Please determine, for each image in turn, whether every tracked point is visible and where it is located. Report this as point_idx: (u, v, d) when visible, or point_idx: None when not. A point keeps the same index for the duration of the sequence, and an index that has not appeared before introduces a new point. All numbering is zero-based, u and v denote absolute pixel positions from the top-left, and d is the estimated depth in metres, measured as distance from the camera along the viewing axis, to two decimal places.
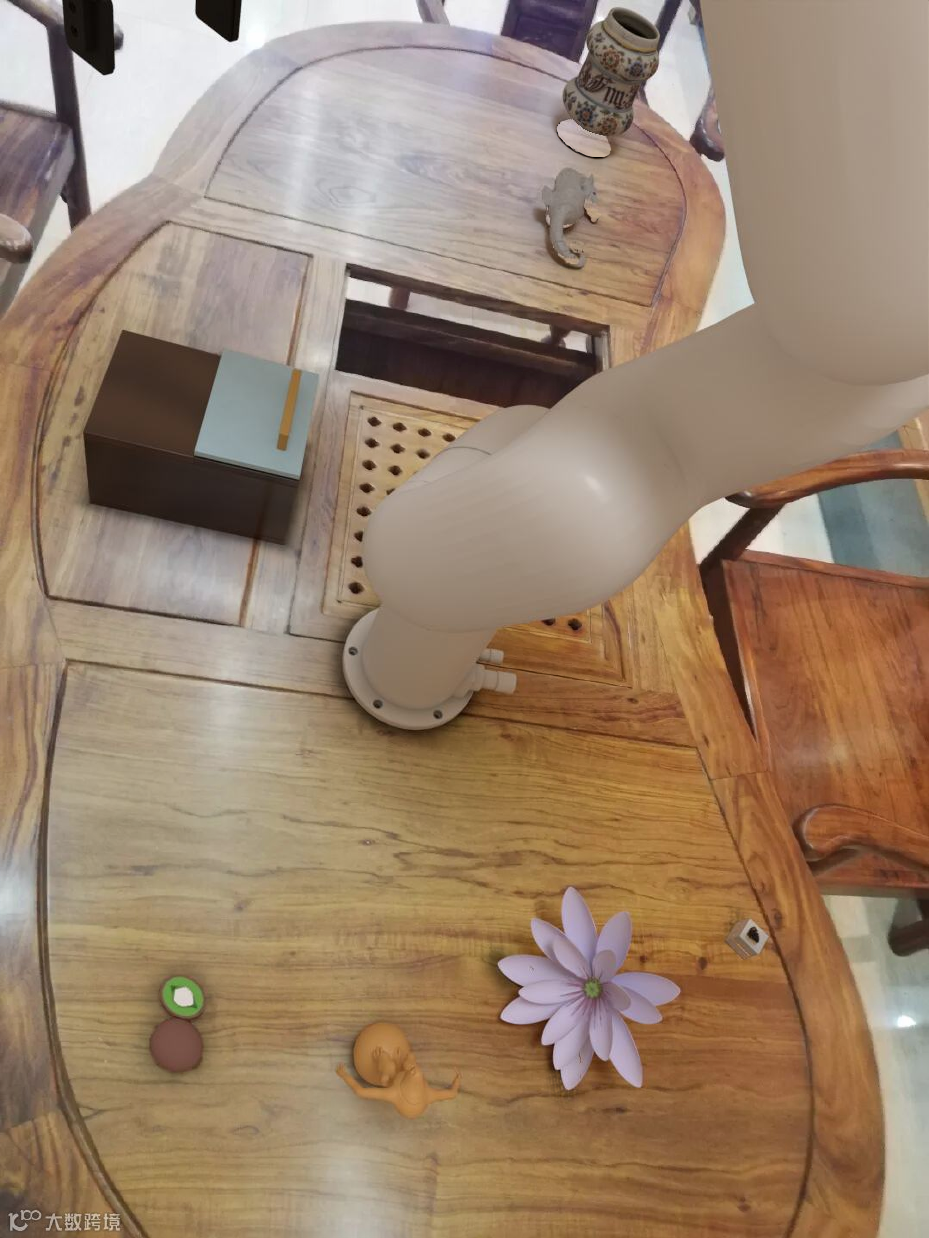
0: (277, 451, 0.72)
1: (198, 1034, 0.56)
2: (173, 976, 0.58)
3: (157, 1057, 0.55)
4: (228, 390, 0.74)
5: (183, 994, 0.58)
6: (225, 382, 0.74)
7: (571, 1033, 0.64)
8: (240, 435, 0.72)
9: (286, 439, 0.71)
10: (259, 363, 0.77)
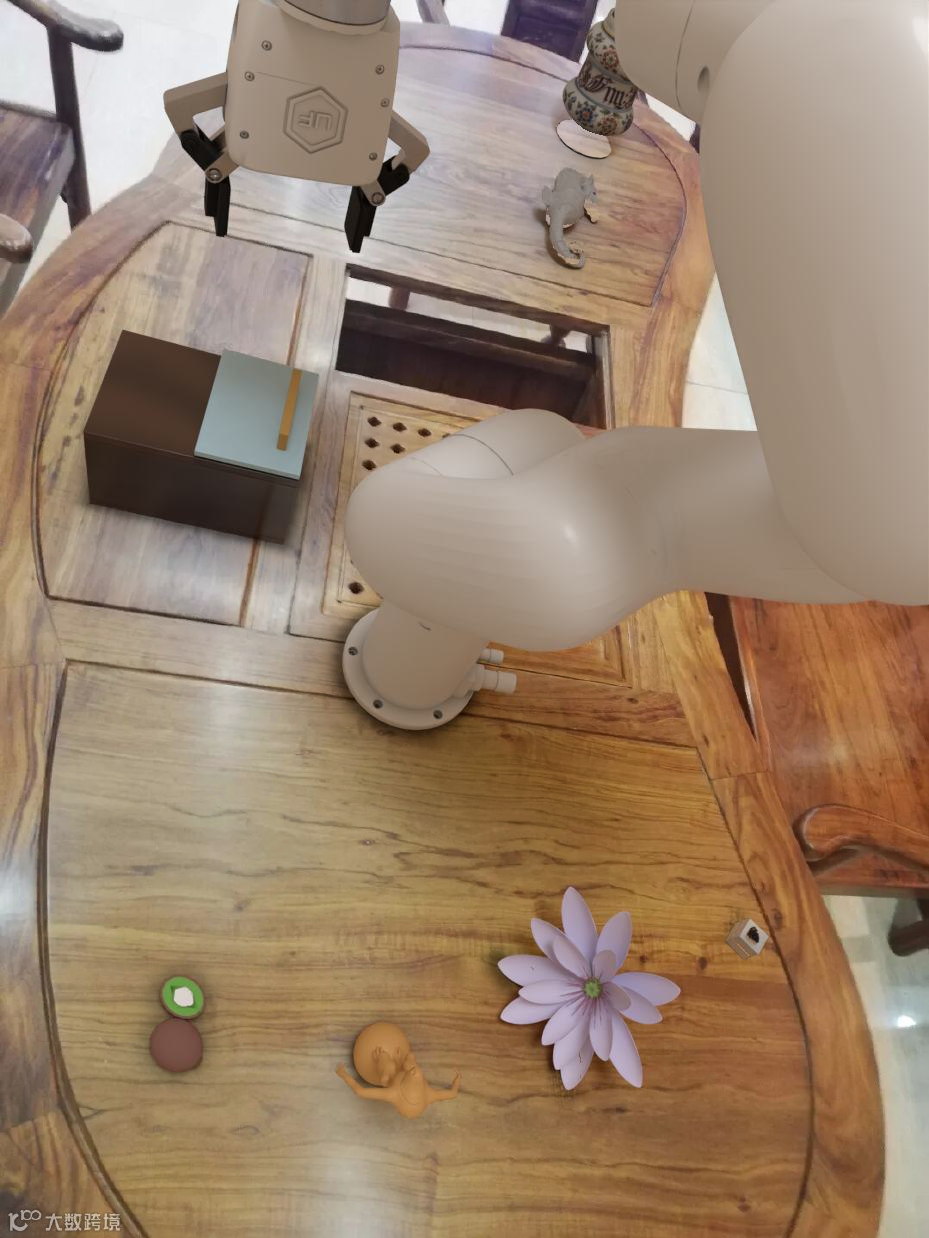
0: (277, 451, 0.72)
1: (198, 1034, 0.56)
2: (173, 976, 0.58)
3: (157, 1057, 0.55)
4: (228, 390, 0.74)
5: (183, 994, 0.58)
6: (225, 382, 0.74)
7: (571, 1033, 0.64)
8: (240, 435, 0.72)
9: (286, 439, 0.71)
10: (259, 363, 0.77)
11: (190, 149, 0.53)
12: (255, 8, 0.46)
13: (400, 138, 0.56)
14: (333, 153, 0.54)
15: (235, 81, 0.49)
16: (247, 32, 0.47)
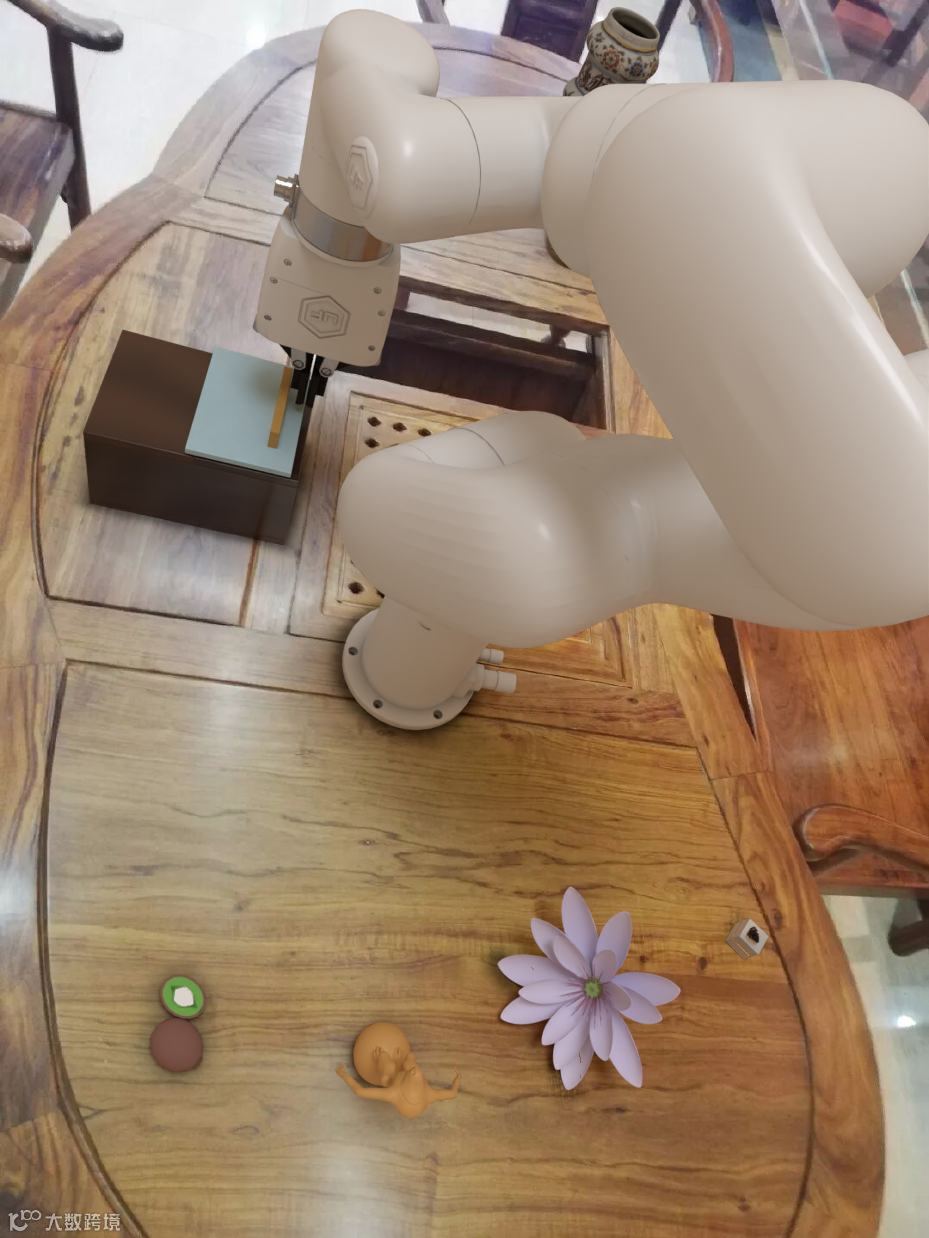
0: (268, 449, 0.72)
1: (198, 1034, 0.56)
2: (173, 976, 0.58)
3: (157, 1057, 0.55)
4: (220, 388, 0.74)
5: (183, 994, 0.58)
6: (216, 380, 0.74)
7: (571, 1033, 0.64)
8: (231, 433, 0.71)
9: (277, 437, 0.71)
10: (251, 361, 0.76)
11: (283, 345, 0.69)
12: (281, 236, 0.60)
13: None
14: (338, 341, 0.66)
15: (264, 280, 0.63)
16: (274, 251, 0.60)
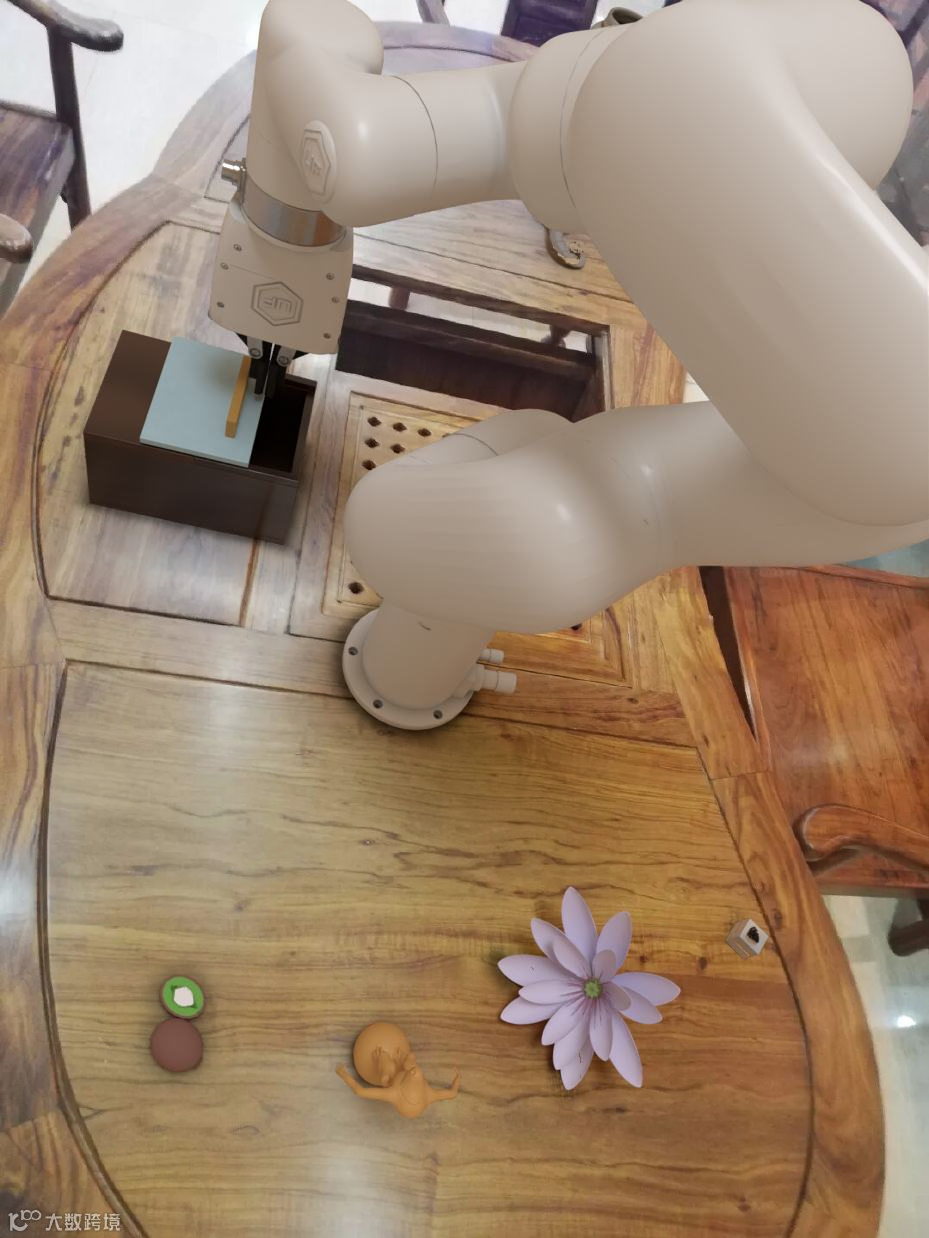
0: (225, 438, 0.71)
1: (198, 1034, 0.56)
2: (173, 976, 0.58)
3: (157, 1057, 0.55)
4: (177, 377, 0.73)
5: (183, 994, 0.58)
6: (174, 369, 0.73)
7: (571, 1033, 0.64)
8: (188, 422, 0.71)
9: (234, 426, 0.70)
10: (210, 350, 0.75)
11: (239, 333, 0.68)
12: (230, 221, 0.59)
13: None
14: (293, 328, 0.65)
15: (215, 267, 0.62)
16: (224, 236, 0.60)
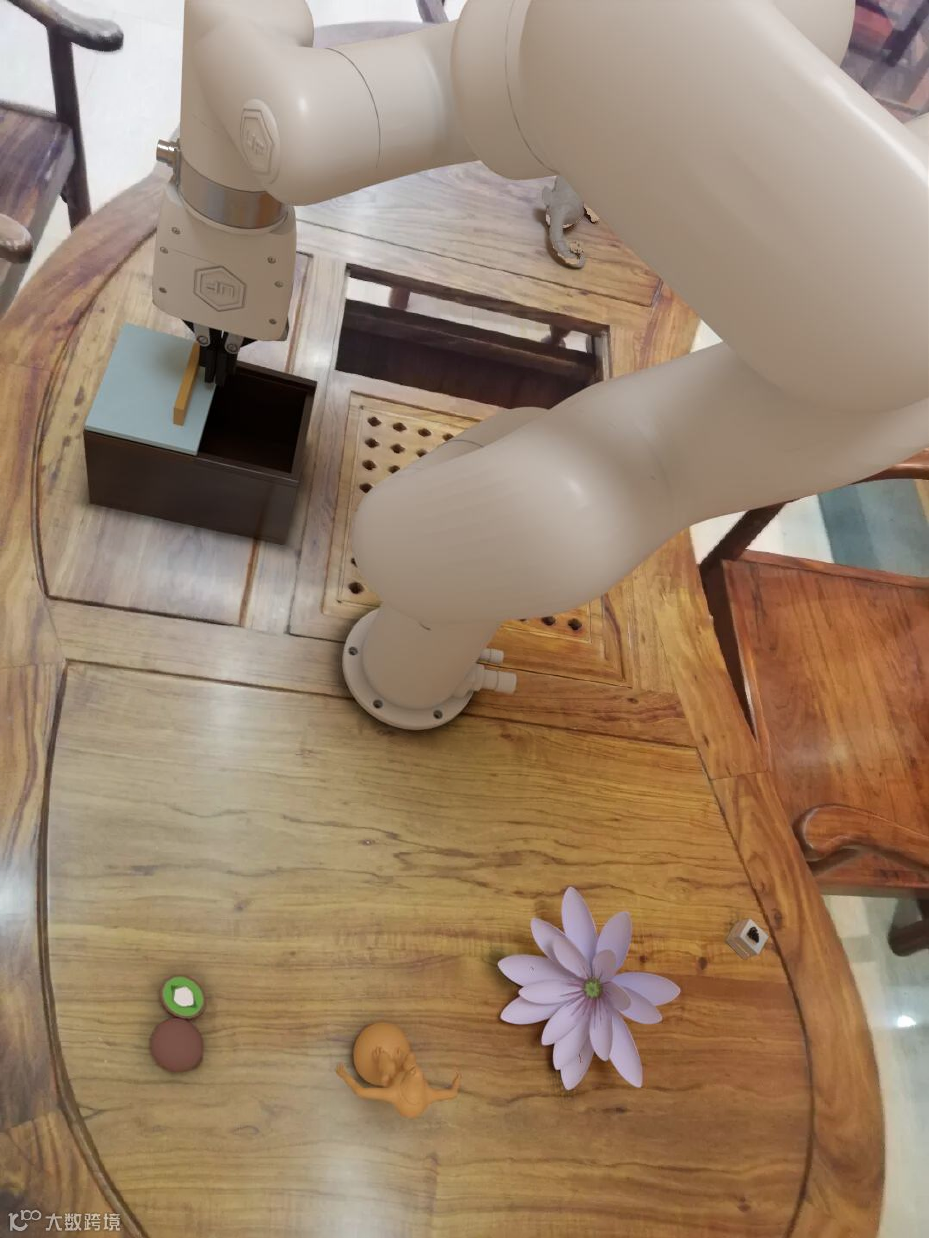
0: (174, 426, 0.70)
1: (198, 1034, 0.56)
2: (173, 976, 0.58)
3: (157, 1057, 0.55)
4: (126, 364, 0.72)
5: (183, 994, 0.58)
6: (123, 356, 0.72)
7: (571, 1033, 0.64)
8: (135, 409, 0.70)
9: (181, 413, 0.69)
10: (161, 337, 0.74)
11: (185, 320, 0.67)
12: (167, 203, 0.58)
13: None
14: (237, 314, 0.64)
15: (155, 251, 0.61)
16: (162, 219, 0.59)
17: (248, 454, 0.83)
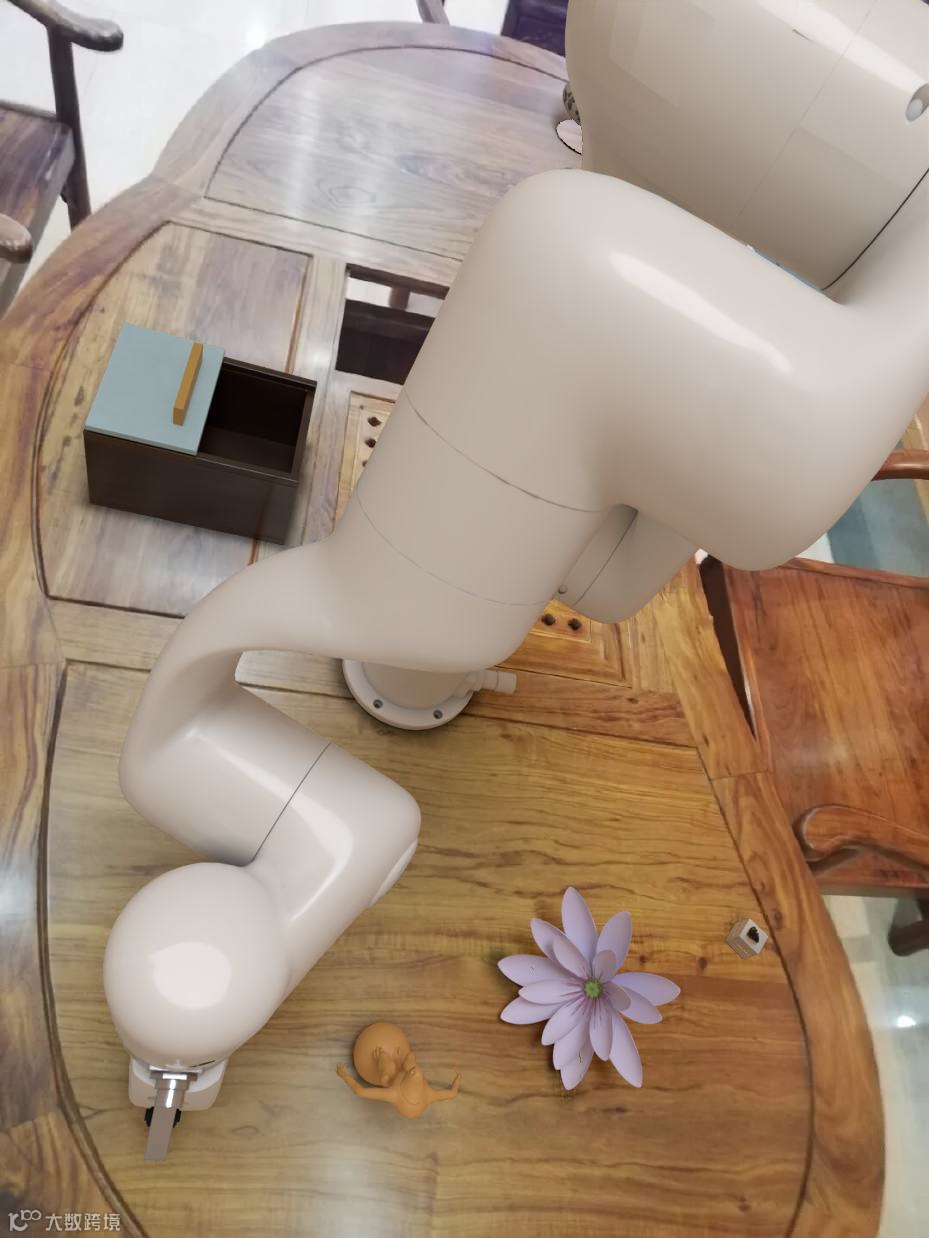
0: (173, 426, 0.70)
1: None
2: None
3: None
4: (126, 364, 0.72)
5: None
6: (123, 356, 0.72)
7: (571, 1033, 0.64)
8: (135, 409, 0.70)
9: (181, 413, 0.69)
10: (161, 337, 0.74)
11: None
12: (213, 1085, 0.43)
13: None
14: None
15: (205, 1104, 0.45)
16: (211, 1093, 0.43)
17: (248, 454, 0.83)
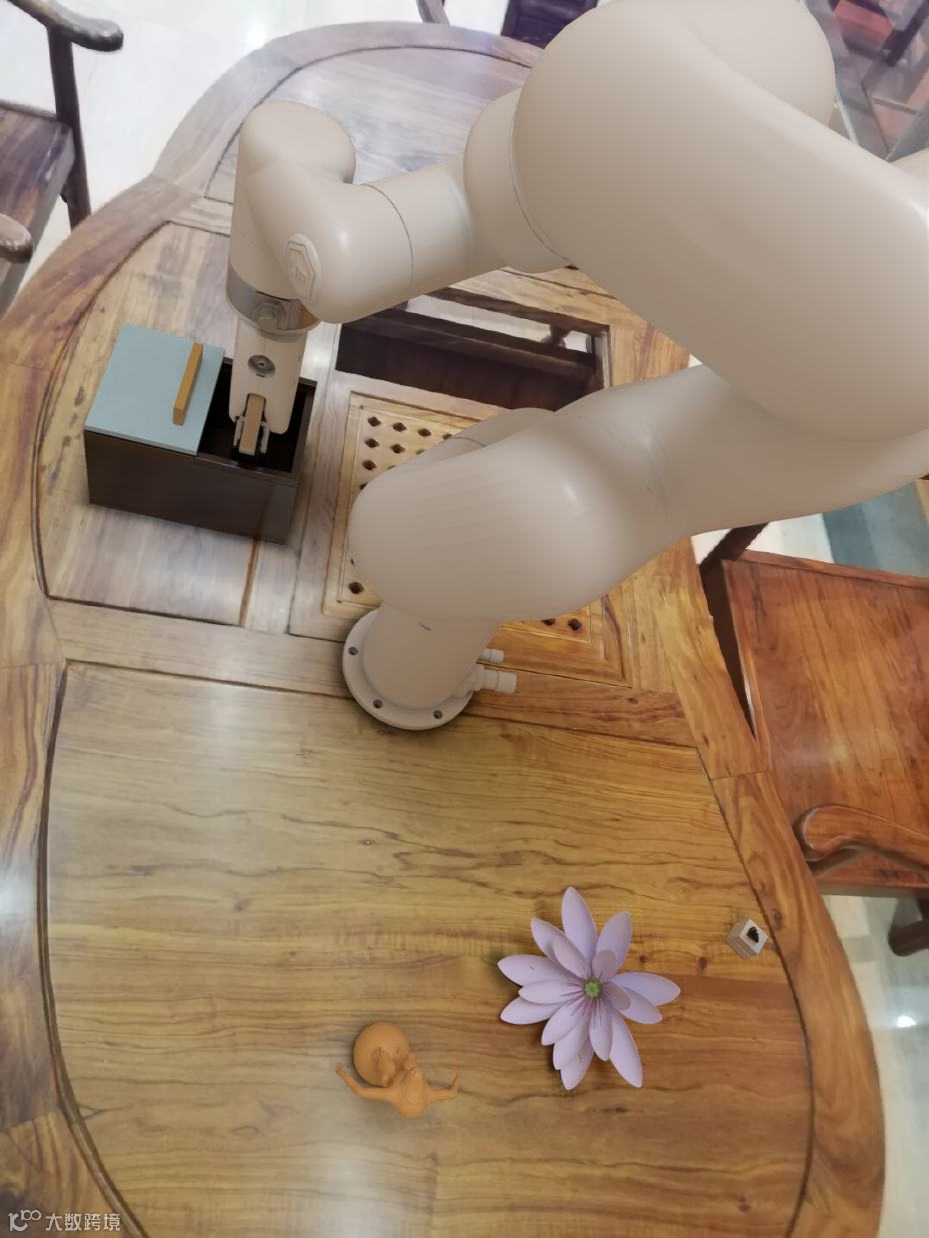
0: (173, 426, 0.70)
1: None
2: None
3: None
4: (126, 364, 0.72)
5: None
6: (123, 356, 0.72)
7: (571, 1033, 0.64)
8: (135, 409, 0.70)
9: (181, 413, 0.69)
10: (161, 337, 0.74)
11: None
12: (293, 347, 0.63)
13: None
14: None
15: (284, 393, 0.66)
16: (290, 363, 0.64)
17: None
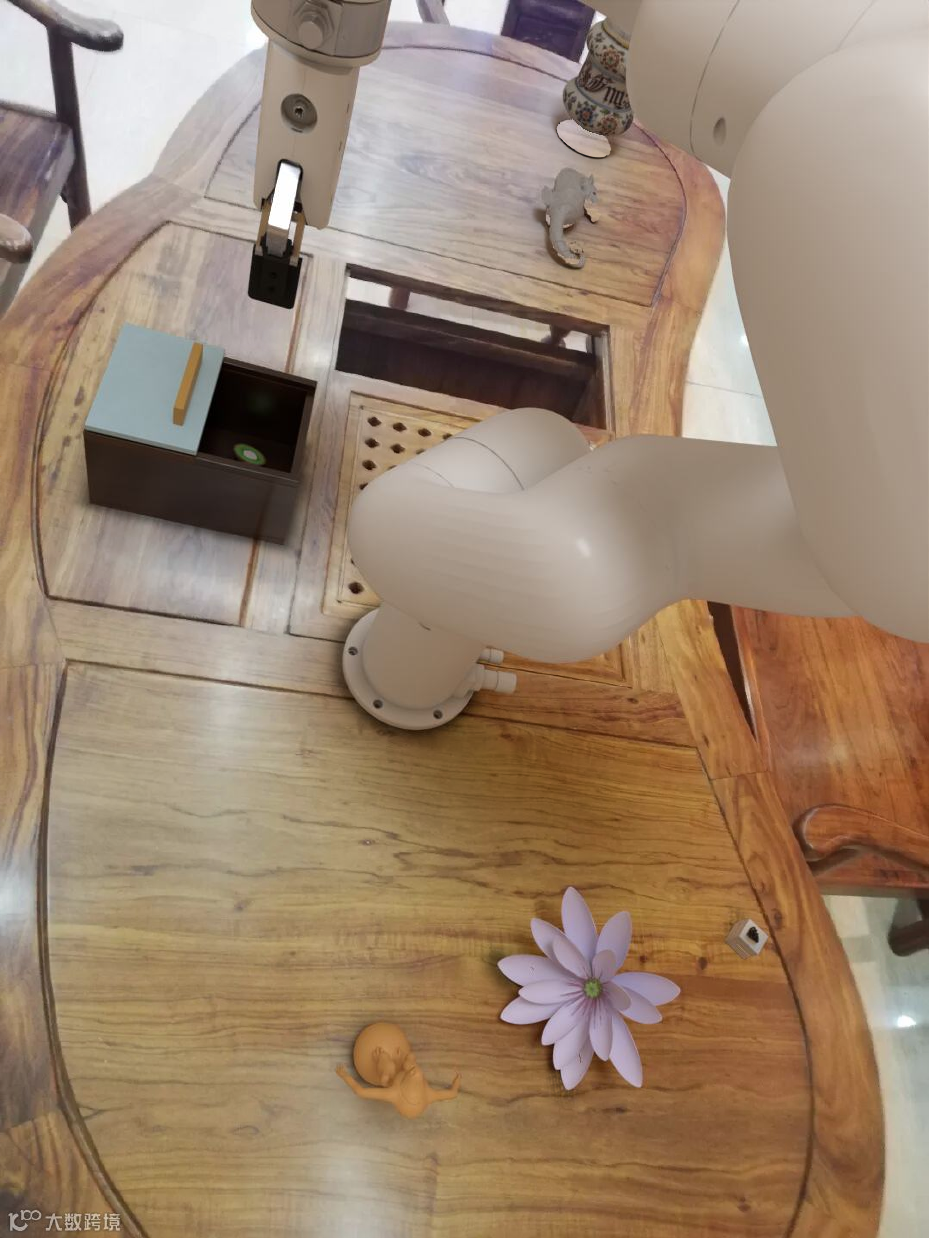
0: (173, 426, 0.70)
1: None
2: (241, 444, 0.82)
3: None
4: (126, 364, 0.72)
5: (250, 454, 0.82)
6: (123, 356, 0.72)
7: (571, 1033, 0.64)
8: (135, 409, 0.70)
9: (181, 413, 0.69)
10: (161, 337, 0.74)
11: (291, 254, 0.53)
12: (342, 84, 0.47)
13: None
14: None
15: (328, 160, 0.50)
16: (338, 110, 0.48)
17: None
